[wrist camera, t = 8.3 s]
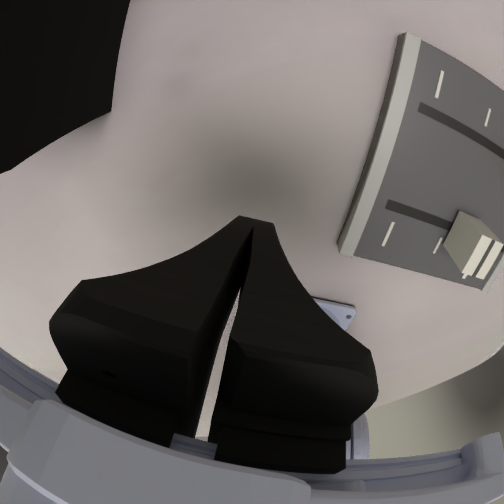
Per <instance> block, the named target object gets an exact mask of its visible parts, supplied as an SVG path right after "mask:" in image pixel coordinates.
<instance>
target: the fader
mask: <svg viewBox="0 0 504 504" xmlns="http://www.w3.org/2000/svg"><path fill="white" fill-rule="evenodd" d="M503 245H504V244H503V243H502V242H501V241H500V240H499V239H498V238H497V236H496V235H495V234H494V233H493V232H492V231H491V230H490V229H489V228H488V227H487V226H486V225H485V224H484V223H483V222H482V221H481V220H479V219H477V218H475V217H473V216H471V215H469V214H466V213H464V212H462V211H459V213H458V215H457V217H456V219H455V222H454V224H453V226H452V228H451V230H450V232H449V234H448V236H447V238H446V240H445V242H444V244H443V246H444V247H445V249H446V250H447V252H448V253H449V255H450V256H451V258H452V259H453V261H454V262H455V264H456V265H457V267H458V268H459V270H460V271H461V273H464V274H467V275H470V276H472V277H477V278H480V279H483V280H484V278H485V276H486V275H487V273H488V271H489V270H490V268H491V266H492V265H493V263H494V261H495V259H496V258H497V256H498V254H499V252H500V250H501V249H502V247H503Z"/></svg>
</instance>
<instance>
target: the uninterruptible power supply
mask: <svg viewBox="0 0 504 504" xmlns="http://www.w3.org/2000/svg"><path fill="white" fill-rule="evenodd" d="M129 3H130V0H0V174H1V173H4V172H6V171H9V170H11V169H13V168H14V167H15V166H17V165H18V164H20V163H21V162H23V161H24V160H26V159H27V158H28V157H30V156H31V155H33V154H35V153H36V152H38V151H39V150H41V149H42V148H44V147H46V146H47V145H49V144H50V143H52V142H54V141H55V140H57V139H59V138H61V137H62V136H64V135H66V134H68V133H69V132H71V131H73V130H75V129H77V128H79V127H80V126H82V125H84V124H86V123H88V122H90V121H92V120H94V119H96V118H98V117H100V116H102V115H104V114H106V113H108V112H111V108H112V98H113V89H114V81H115V74H116V67H117V61H118V55H119V49H120V44H121V38H122V33H123V29H124V24H125V20H126V15H127V11H128V7H129Z"/></svg>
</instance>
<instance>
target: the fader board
mask: <svg viewBox="0 0 504 504" xmlns="http://www.w3.org/2000/svg"><path fill="white" fill-rule="evenodd" d="M459 211H462V212H464V213H466V214H469V215H471V216H473V217H475V218H477V219H479V220H481V221H482V222H483V223H484V224H485V225H486V226H487V227H488V228H489V229H490V230H491V231H492V232H493V233H494V234H495V235H496V236H497V238H498V239H499V240H500V241H501V242H502V243H503V244H504V91H503V90H502V89H501V88H499V87H498V86H497V85H495V84H494V83H492V82H491V81H490V80H488V79H487V78H485V77H484V76H482V75H481V74H479V73H478V72H476V71H475V70H473V69H472V68H470V67H469V66H467V65H466V64H464V63H462V62H461V61H459V60H457V59H456V58H454V57H452V56H450V55H449V54H447V53H445V52H443V51H442V50H440V49H438V48H436V47H434V46H432V45H430V44H428V43H426V42H424V41H422V40H421V38H419V37H417V36H415V35H412V34H410V33H408V32H406V33H403V34H401V35H399V37H398V42H397V47H396V52H395V56H394V61H393V65H392V70H391V74H390V78H389V82H388V86H387V90H386V94H385V98H384V102H383V105H382V109H381V113H380V116H379V120H378V123H377V127H376V130H375V134H374V137H373V140H372V144H371V147H370V150H369V154H368V157H367V160H366V163H365V166H364V169H363V172H362V175H361V178H360V181H359V184H358V187H357V190H356V193H355V196H354V199H353V202H352V205H351V207H350V210H349V213H348V216H347V218H346V221H345V224H344V227H343V229H342V232H341V235H340V237H339V240H338V242H337V245H338V250H339V254H340V255H345V256H349V257H352V256H357V257H361V258H365V259H369V260H373V261H377V262H381V263H385V264H389V265H392V266H396V267H400V268H404V269H408V270H412V271H415V272H419V273H423V274H427V275H430V276H434V277H438V278H442V279H445V280H449V281H453V282H456V283H460V284H464V285H467V286H471V287H474V288H478V289H480V290H481V291H482V292H486V293H488V292H489V290H490V288H491V287H492V285H493V284H494V282H495V281H496V279H497V277H498V276H499V274H500V273H501V271H502V269H503V268H504V245H503V247H502V249H501V250H500V252H499V254H498V256H497V258H496V259H495V261H494V263H493V265H492V266H491V268H490V270H489V271H488V273H487V275H486V276H485V278H484V280H483V279H480V278H477V277H472V276H470V275H467V274H464V273H461V271H460V270H459V268H458V267H457V265H456V264H455V262H454V261H453V259H452V258H451V256H450V255H449V253H448V252H447V250H446V249H445V247H444V246H443V244H444V242H445V240H446V238H447V236H448V234H449V232H450V230H451V228H452V226H453V224H454V222H455V219H456V217H457V215H458V213H459Z"/></svg>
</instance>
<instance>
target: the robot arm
mask: <svg viewBox="0 0 504 504" xmlns="http://www.w3.org/2000/svg"><path fill="white" fill-rule="evenodd" d="M240 287H241V288H240ZM239 290H240V295H239V302H238V309H237V313H236V316H235V320H234V323H233V326H232V330H231V333H230V336H229V341H228V346H227V351H226V356H225V361H224V365H223V370H222V375H221V380H220V385H219V390H218V395H217V399H216V403H215V407H214V411H213V415H212V419H211V426H210V431H209V436H208V442H206V441H202V440H198V439H195V435H196V431H197V427H198V423H199V419H200V415H201V411H202V407H203V403H204V399H205V395H206V391H207V388H208V384H209V380H210V376H211V372H212V369H213V365H214V361H215V357H216V354H217V350H218V346H219V343H220V340H221V337H222V334H223V331H224V329H225V326H226V323H227V321H228V318H229V316H230V313H231V311H232V308H233V305H234V303H235V300H236V298H237V295H238V293H239ZM355 314H356V308H355V307H353V306H349V305H344V304H339V303H334V302H329V301H324V300H320V299H315V298H312V297H311V296H310V295H309V293H308V292H307V291H306V290H305V288H304V287H303V285H302V284H301V282H300V281H299V280H298V278H297V276H296V275H295V273H294V271H293V270H292V268H291V266H290V264H289V262H288V260H287V258H286V256H285V254H284V252H283V249H282V247H281V245H280V242H279V239H278V236H277V233H276V230H275V226H274V224H273V223H270V222H265V221H261V220H257V219H252V218H248V217H243V216H238V217H236V218H235V219H234V220H232V221H231V222H230V223H229V224H227V225H226V226H225V227H224V228H222V229H221V230H220V231H218V232H217V233H215V234H214V235H213V236H211V237H210V238H208V239H207V240H205V241H203V242H202V243H200V244H198V245H197V246H195V247H193V248H192V249H190V250H188V251H186V252H184V253H182V254H180V255H177V256H175V257H173V258H170V259H168V260H165V261H162V262H159V263H157V264H154V265H151V266H148V267H145V268H142V269H138V270H135V271H131V272H127V273H122V274H118V275H113V276H107V277H101V278H95V279H89V280H82V281H81V282H80V283H79V284H78V285H77V286H76V287H75V288H74V289H73V290H72V292H71V293H70V294H69V295H68V297H67V298H66V299H65V300H64V302H63V303H62V304H61V305H60V307H59V308H58V309H57V311H56V312H55V313H54V315H53V316H52V318H51V319H50V321H49V330H50V334H51V337H52V340H53V342H54V344H55V346H56V348H57V350H58V352H59V354H60V356H61V358H62V360H63V361H64V363H65V365H66V367H67V369H68V370H67V372H66V373H65V375H64V377H63V379H62V380H61V382H60V384H57V383H55V382H53V381H51V380H50V379H48V378H46V377H44V376H43V375H41V374H39V373H38V372H36V371H34V370H33V369H31V368H30V367H28V366H27V365H25V364H23V363H22V362H20V361H19V360H17V359H16V358H14V357H13V356H11V355H10V354H9V353H7V352H6V351H4V350H3V349H1V348H0V445H1V446H2V447H3V448H4V449H5V450H6V451H7V452H8V455H7V460H8V462H9V464H8V466H7V468H6V471H5V473H4V476H3V478H2V480H1V483H0V504H489V503H491V502H492V501H495V500H496V499H498V498H500V497H502V496H504V451H503V446H502V441H501V437H500V433H498V432H497V433H493V434H489V435H485V436H481V437H478V438H476V439H474V440H472V441H470V442H469V443H467V444H466V445H464V446H463V447H462V448H461V449H457V450H452V451H446V452H440V453H434V454H427V455H419V456H411V457H400V458H387V459H369V431H368V423H367V418H366V415H365V414H364V413H365V412H366V411H367V410H368V409H369V408H370V407H371V406H372V405H373V403H374V402H375V401H376V399H377V396H378V392H379V391H378V384H377V376H376V370H375V366H374V362H373V359H372V355H371V351H370V350H369V349H367V348H366V347H365V346H364V345H362V344H361V343H360V342H358V341H357V340H356V339H355V338H353V337H352V336H351V335H349V334H348V333H347V332H346V330H347V328H348V326H349V325H350V323H351V321H352V319H353V318H354V316H355ZM347 315H349V316H347Z"/></svg>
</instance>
